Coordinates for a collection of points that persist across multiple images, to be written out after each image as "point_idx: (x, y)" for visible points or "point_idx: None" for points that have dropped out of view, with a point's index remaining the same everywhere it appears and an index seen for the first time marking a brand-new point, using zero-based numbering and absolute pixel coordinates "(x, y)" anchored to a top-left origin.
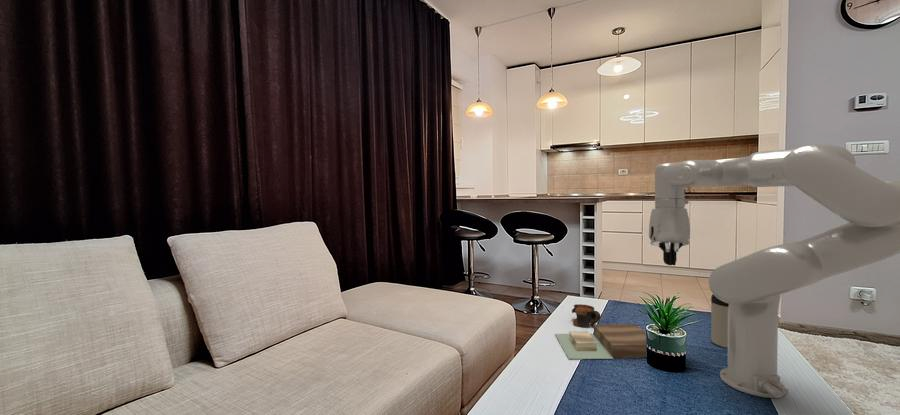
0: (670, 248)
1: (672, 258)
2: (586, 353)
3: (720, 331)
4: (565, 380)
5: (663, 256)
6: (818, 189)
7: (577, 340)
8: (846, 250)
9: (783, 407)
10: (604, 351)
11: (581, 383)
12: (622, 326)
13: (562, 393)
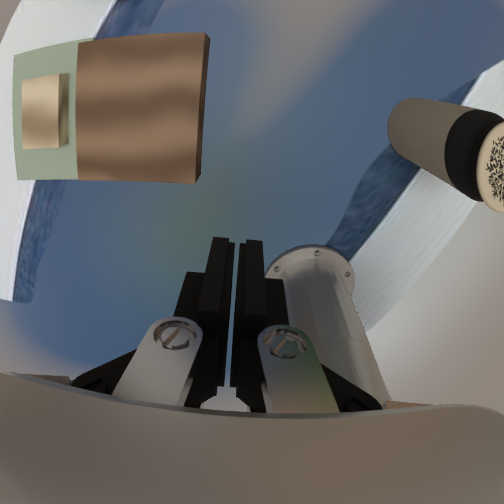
0: (252, 369)
1: (232, 343)
2: (47, 156)
3: (405, 148)
4: (14, 247)
5: (179, 297)
6: None
7: (26, 134)
8: None
9: None
10: None
11: (32, 257)
12: (152, 52)
13: (13, 277)
